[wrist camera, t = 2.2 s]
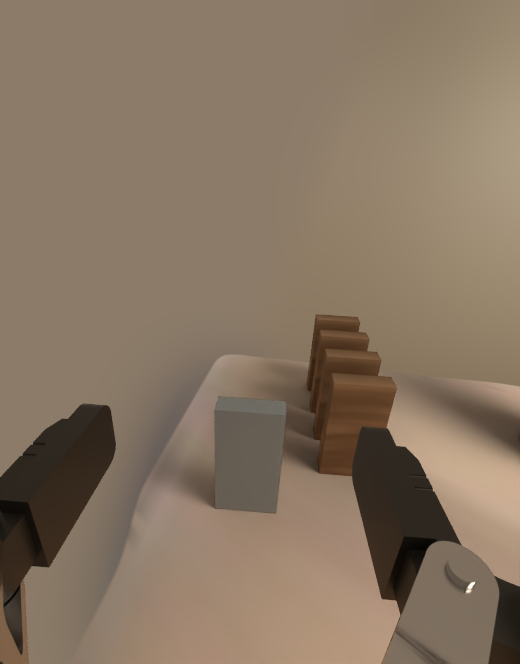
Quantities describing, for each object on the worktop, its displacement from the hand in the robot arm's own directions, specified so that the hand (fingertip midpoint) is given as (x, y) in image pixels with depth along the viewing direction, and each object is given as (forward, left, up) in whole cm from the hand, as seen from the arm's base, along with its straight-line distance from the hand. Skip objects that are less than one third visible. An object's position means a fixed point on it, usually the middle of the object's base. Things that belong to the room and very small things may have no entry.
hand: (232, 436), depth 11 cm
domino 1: (+5, -10, -17) cm, 21 cm away
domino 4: (0, -22, -17) cm, 28 cm away
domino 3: (+2, -26, -17) cm, 31 cm away
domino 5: (-2, -18, -17) cm, 25 cm away
